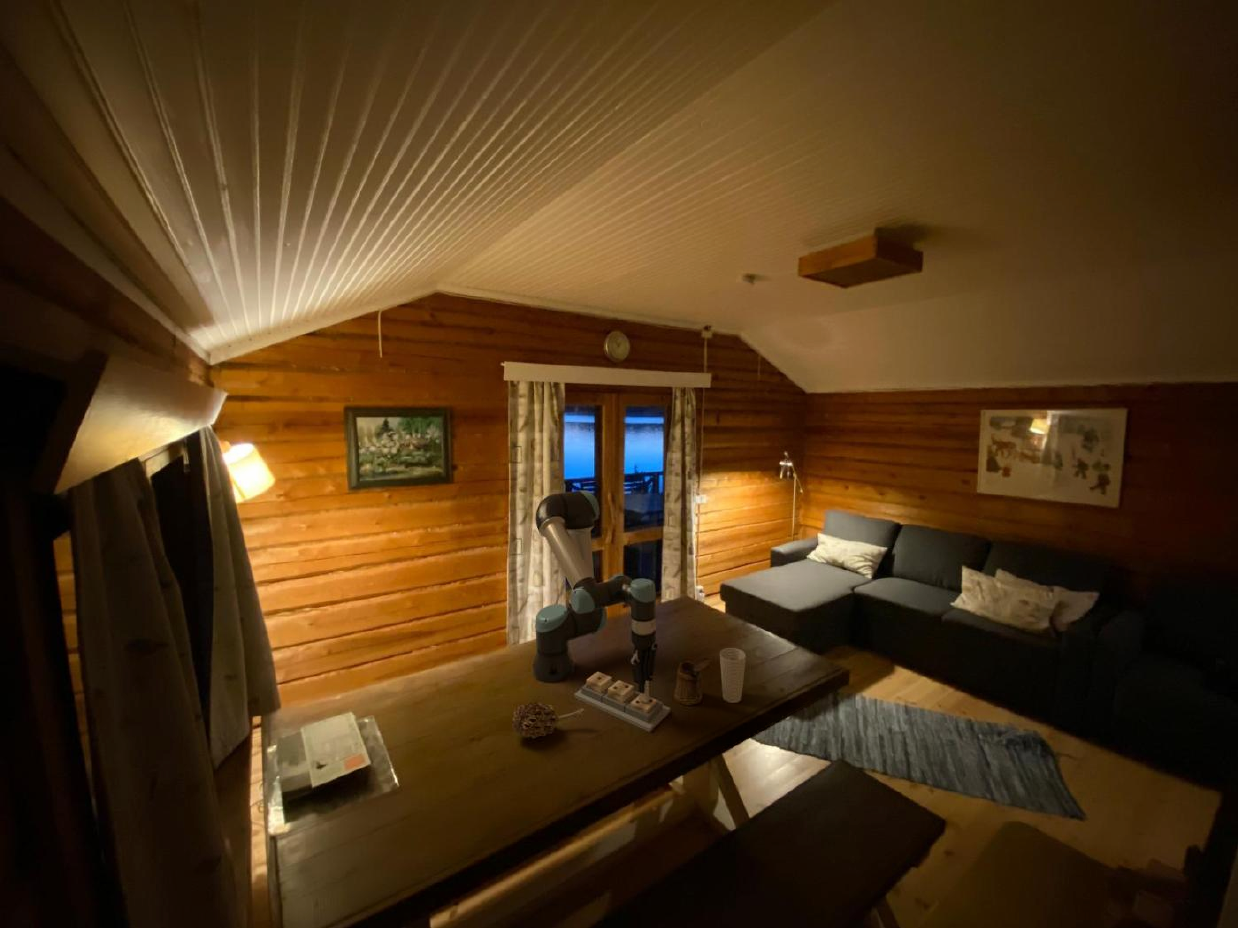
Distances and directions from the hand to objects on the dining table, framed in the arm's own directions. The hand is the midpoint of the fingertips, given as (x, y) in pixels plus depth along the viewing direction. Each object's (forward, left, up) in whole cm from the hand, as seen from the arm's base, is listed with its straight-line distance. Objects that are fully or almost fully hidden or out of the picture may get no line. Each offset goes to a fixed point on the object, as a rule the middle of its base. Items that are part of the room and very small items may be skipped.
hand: (644, 700), depth 160 cm
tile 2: (-9, 0, -2) cm, 9 cm away
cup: (+19, +24, -5) cm, 31 cm away
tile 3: (0, 0, -4) cm, 4 cm away
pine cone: (-19, -23, -5) cm, 30 cm away
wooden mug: (+9, +15, -5) cm, 18 cm away
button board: (-9, 0, -5) cm, 10 cm away
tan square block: (-18, 0, -2) cm, 18 cm away
